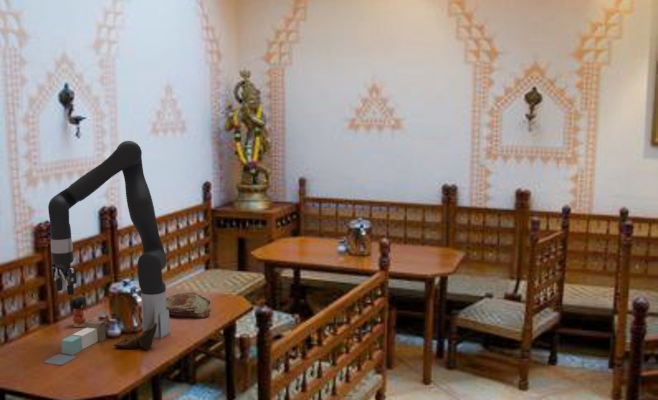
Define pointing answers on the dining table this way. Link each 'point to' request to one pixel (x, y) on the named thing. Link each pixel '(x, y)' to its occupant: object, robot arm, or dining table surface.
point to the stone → (188, 305)
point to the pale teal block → (71, 345)
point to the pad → (60, 359)
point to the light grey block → (91, 333)
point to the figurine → (78, 310)
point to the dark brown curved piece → (139, 339)
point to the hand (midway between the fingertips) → (65, 292)
